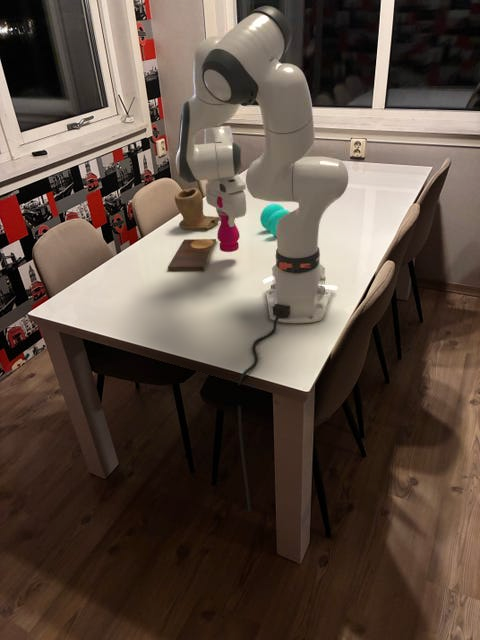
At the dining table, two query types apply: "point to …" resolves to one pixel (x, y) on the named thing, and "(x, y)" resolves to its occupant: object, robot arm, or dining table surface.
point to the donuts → (272, 217)
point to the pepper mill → (227, 232)
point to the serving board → (192, 255)
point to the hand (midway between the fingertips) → (227, 223)
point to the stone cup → (193, 210)
